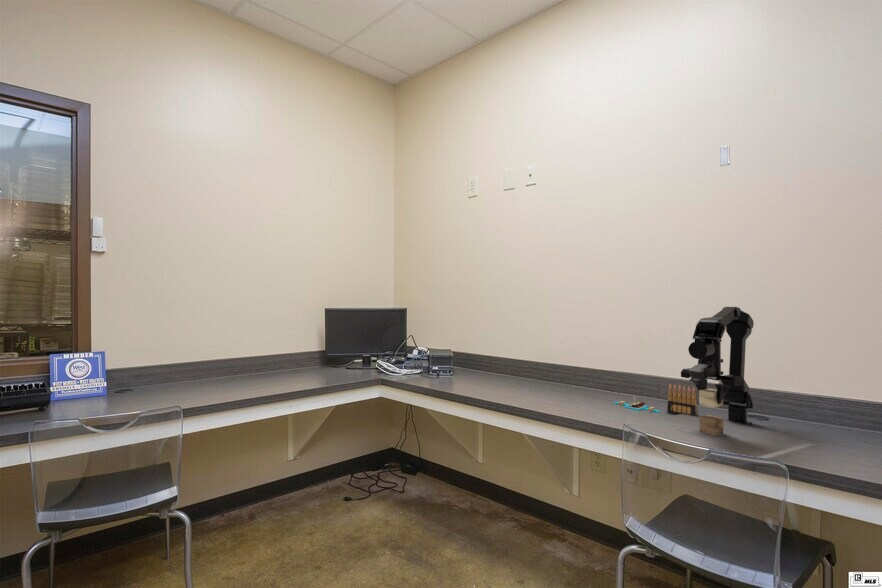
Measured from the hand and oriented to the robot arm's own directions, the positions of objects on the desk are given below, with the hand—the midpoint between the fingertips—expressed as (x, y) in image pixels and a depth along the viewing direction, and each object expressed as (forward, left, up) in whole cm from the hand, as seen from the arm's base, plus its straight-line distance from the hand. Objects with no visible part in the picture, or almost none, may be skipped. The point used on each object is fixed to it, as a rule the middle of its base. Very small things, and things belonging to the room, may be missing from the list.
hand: (711, 402), depth 153 cm
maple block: (0, 0, -1) cm, 1 cm away
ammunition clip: (-14, -21, -12) cm, 28 cm away
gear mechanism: (-9, -38, -12) cm, 41 cm away
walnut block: (0, 0, -10) cm, 10 cm away
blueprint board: (0, 0, -11) cm, 11 cm away
